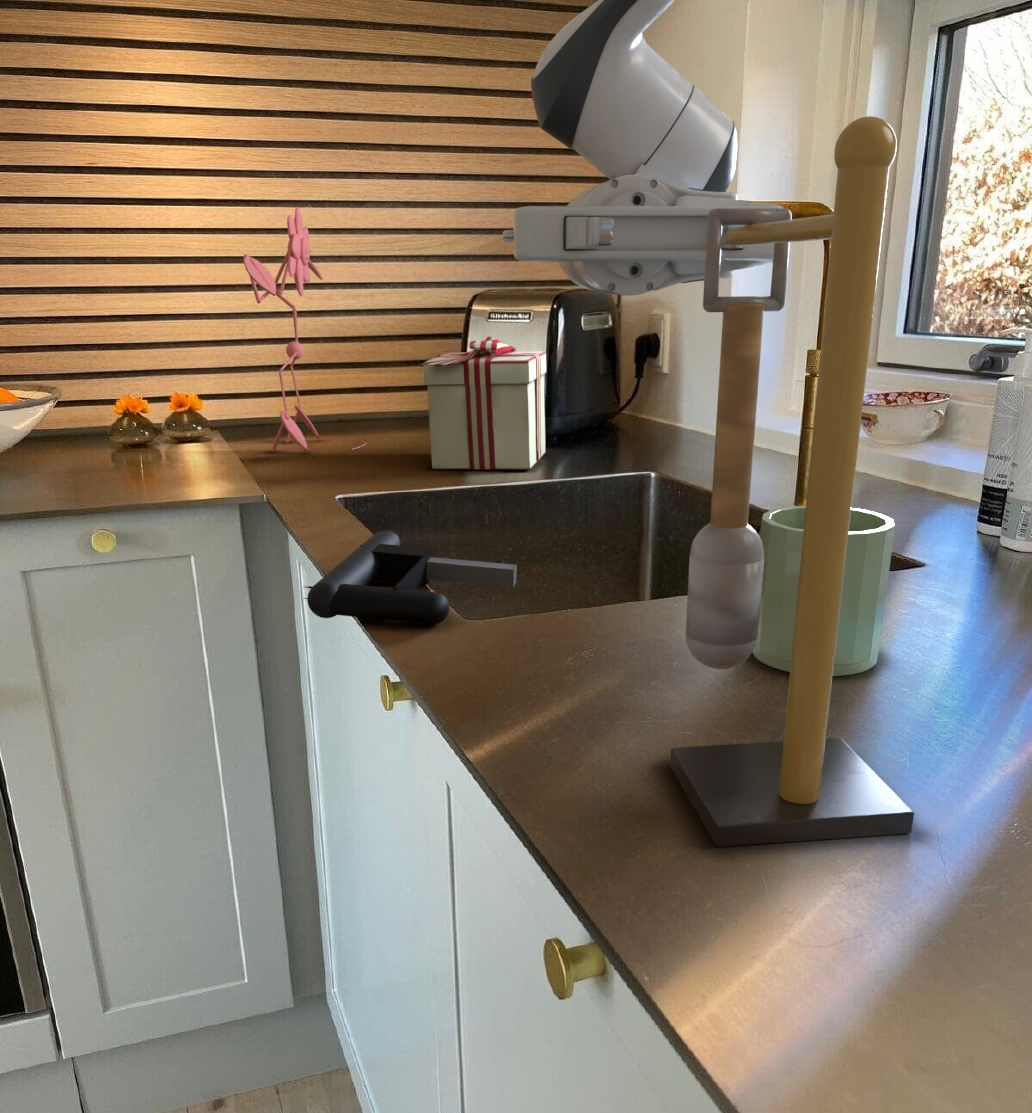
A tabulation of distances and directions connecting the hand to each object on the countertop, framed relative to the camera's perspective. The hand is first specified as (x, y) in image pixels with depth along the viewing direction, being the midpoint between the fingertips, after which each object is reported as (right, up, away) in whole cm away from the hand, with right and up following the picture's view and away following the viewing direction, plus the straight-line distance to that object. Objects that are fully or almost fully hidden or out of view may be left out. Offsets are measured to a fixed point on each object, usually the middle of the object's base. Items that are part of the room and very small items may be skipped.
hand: (671, 231), depth 71 cm
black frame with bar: (-19, -23, +20) cm, 36 cm away
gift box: (-16, +2, +81) cm, 83 cm away
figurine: (-42, +7, +96) cm, 105 cm away
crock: (+11, -29, +5) cm, 31 cm away
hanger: (+3, -35, -11) cm, 37 cm away
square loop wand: (+2, -30, -6) cm, 31 cm away
